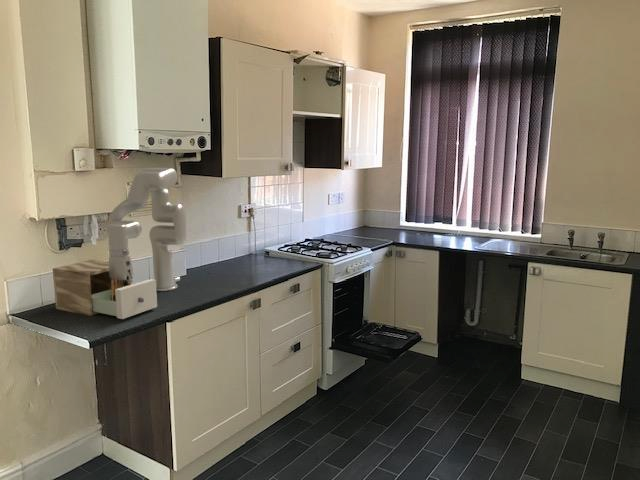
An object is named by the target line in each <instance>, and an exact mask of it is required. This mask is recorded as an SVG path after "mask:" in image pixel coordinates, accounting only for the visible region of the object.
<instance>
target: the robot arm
mask: <svg viewBox="0 0 640 480" xmlns="http://www.w3.org/2000/svg"><path fill="white" fill-rule="evenodd" d="M177 181H178V173H177V171H176V170H175V169H174V168H173V167H172V168H171V167H146V168H143V169H142V170H140V171H139V172H137V173H136V174H135V175H134V177H133V180H132V183H131V186H130V188H129V191H128V194H127V196H126V197H127V198H126V199H124V200H123V201H121V202H120V203H118V205H117V206H115V207H114V208H113V210H112V211H111V213H110V215H109V218H108V221H107V224H106V233H107V237H108V250H109V256H108V257H109V258H108V262H109V276H110V280H112V279H113V281H114V285H115V278H116V279H117V283H118V280H121V288H122V287H125V286H128V284H129V283H131V284H132V283H133V279H134V269H133V268H134V267H133V263H132V258H131V256H130V251H129V240H130V239H136V238H138V237H139V236H141V234H142V231H143V230H142V225H141V223H140V222H137V221H135V220H123V219H124V218H125V217H126V216H127V215H129V214H132V213H135V212H136V211H139V210H141V209H143V208H145V207H146V205H147V202H148V200H149V197H151V200H150V201H151V217H152V219H153V222H156V223H161V224H160V225H154V226H152V227H151V228H150V230H149V234H148V235H149V240H150V244H151V245H150V246H151V250H152V267H153V279H154V280H156V291H157V292H167V291H172V290H176V289H177V288H178V284H177V283H176V282H179V281H181V277H180V276H178V277H174V276H175V275H174V274H175V273H174V255H173V251H172V248H171V247H170V246H181V245H183V244H185V243H186V238H187V225H186V224H187V222H186V221H187V220H186V209H185V207H184V206H183V204H181V203H175V202H174V203H173V202H172V203H171V201H170V200H171V199H170V191H169V190H168V189H169V188H171V187H174V186H175V184H176V183H177ZM162 223H166V224H163V225H162ZM167 224H169V225H167ZM170 224H173V225H170ZM124 281H125V282H124Z"/></svg>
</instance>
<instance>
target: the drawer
mask: <svg viewBox="0 0 640 480" xmlns="http://www.w3.org/2000/svg"><path fill="white" fill-rule="evenodd" d="M157 292H158V291H156V280H154V278H153V279H152V278H150V279H146V280H143V281H139V282H136V283H133V284H132V283H131V285H128V286H125V287H122V288H118V289H115V295H116V302H115V301H111V289H109V290H106V291H102V292H99V293H96V294H92V295H91V297H92V310H93V311H94V312H99V313H98V314H105V315H109V316H114V317H116V318H117V319H120V320H125V319H127V318H130V317H132V316H135V315H138V314H141V313H143V312H148V311H149V310H152V309H155V308H157V307H158V296H157Z"/></svg>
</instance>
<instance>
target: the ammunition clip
mask: <svg viewBox="0 0 640 480" xmlns="http://www.w3.org/2000/svg"><path fill="white" fill-rule="evenodd" d="M124 282H125V281H124ZM128 285H132V282H131V283H129V284H128ZM118 288H121V280H118V283H117V279H116V278H115V286H114V281H113V279H112V281H111V301H115V302H116V295H115V289H118Z"/></svg>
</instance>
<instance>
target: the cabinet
mask: <svg viewBox="0 0 640 480" xmlns="http://www.w3.org/2000/svg"><path fill="white" fill-rule="evenodd" d="M52 277H53V278H52V279H53V288H54V289H53V290H54V299H55V300H54V301H55V309H57V310H61V311H66V312H69V313H73V314H80V315H84V316H88V317H92V316H95V315H97V314H100V313H99V312H94V311H93V310H92V297H91V295H92V294H96V293H99V292H102V291H106V290H109V289H111V281H112V280H110V276H109V261H101V260H94V259H90V260H89V259H88V260H84V261H80V262H77V263H72V264H67V265H62V266H58V267H54V268H52ZM114 286H115V285H114Z"/></svg>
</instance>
